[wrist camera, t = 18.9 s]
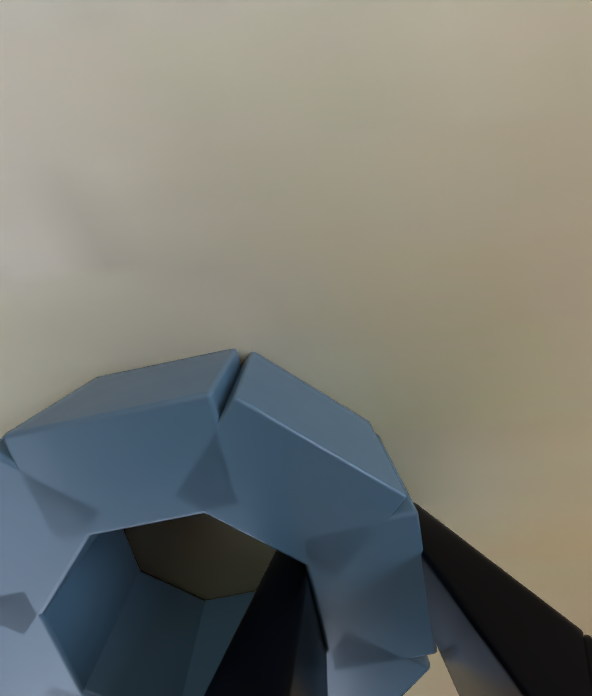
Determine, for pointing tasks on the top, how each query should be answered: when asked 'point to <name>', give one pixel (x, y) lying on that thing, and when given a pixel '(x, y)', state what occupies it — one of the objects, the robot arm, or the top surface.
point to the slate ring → (191, 499)
